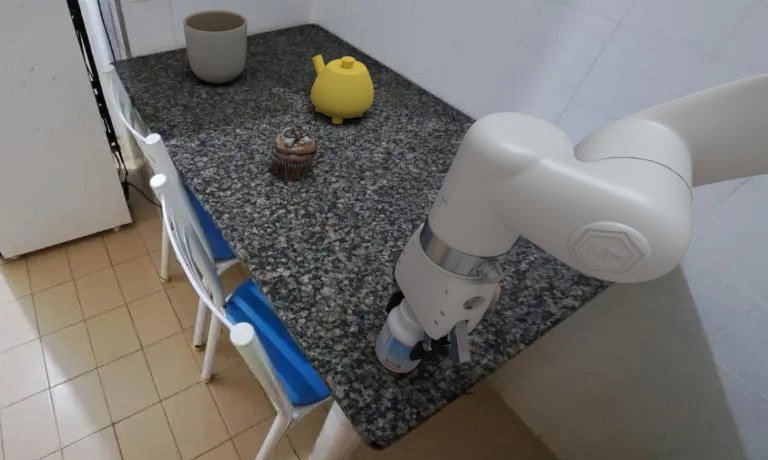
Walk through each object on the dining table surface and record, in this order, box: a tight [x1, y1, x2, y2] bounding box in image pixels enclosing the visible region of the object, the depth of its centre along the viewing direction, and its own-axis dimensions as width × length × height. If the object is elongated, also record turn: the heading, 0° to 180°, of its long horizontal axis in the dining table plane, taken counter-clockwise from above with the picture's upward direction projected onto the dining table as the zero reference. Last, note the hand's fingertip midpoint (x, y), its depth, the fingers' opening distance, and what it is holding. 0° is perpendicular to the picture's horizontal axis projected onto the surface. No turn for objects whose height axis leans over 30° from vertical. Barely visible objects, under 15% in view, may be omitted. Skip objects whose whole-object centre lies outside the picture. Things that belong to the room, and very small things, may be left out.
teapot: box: [309, 54, 375, 125], centre depth 98 cm, size 20×16×14 cm
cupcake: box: [269, 124, 318, 181], centre depth 81 cm, size 10×10×10 cm
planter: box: [182, 9, 248, 85], centre depth 109 cm, size 17×17×15 cm
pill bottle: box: [374, 298, 424, 374], centre depth 51 cm, size 6×6×11 cm
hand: (408, 331), depth 51 cm, fingers closed on pill bottle, 6 cm apart
